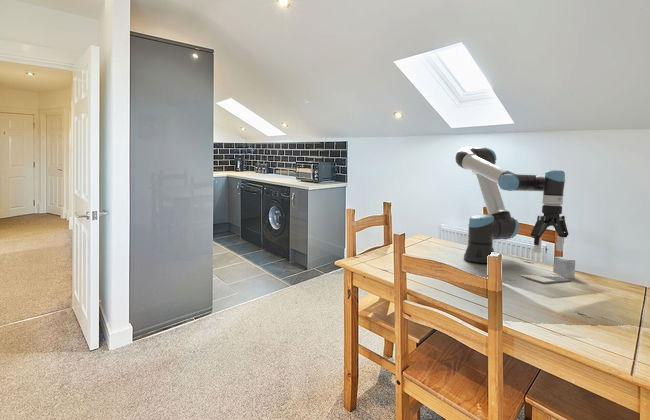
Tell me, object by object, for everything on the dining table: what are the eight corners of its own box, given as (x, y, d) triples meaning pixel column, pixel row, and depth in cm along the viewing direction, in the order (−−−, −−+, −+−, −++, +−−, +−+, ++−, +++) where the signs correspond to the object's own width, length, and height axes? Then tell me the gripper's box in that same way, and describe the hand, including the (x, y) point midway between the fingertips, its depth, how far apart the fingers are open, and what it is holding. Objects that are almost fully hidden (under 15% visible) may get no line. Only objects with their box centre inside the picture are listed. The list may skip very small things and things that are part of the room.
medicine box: (574, 279, 154) (576, 260, 153) (565, 279, 153) (566, 260, 153) (561, 274, 161) (562, 256, 161) (552, 274, 161) (553, 256, 161)
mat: (516, 275, 158) (516, 274, 158) (542, 273, 163) (542, 272, 163) (544, 284, 144) (544, 282, 144) (571, 281, 149) (571, 279, 149)
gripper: (539, 205, 145) (535, 254, 147) (580, 205, 153) (576, 252, 155) (523, 204, 152) (520, 251, 154) (564, 204, 160) (560, 248, 162)
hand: (548, 251), depth 154 cm, fingers open, 13 cm apart
